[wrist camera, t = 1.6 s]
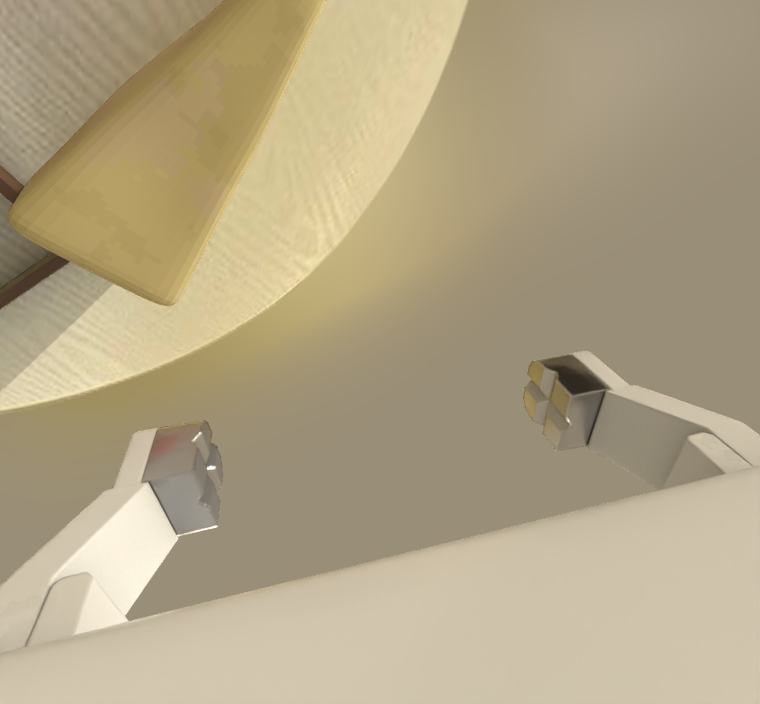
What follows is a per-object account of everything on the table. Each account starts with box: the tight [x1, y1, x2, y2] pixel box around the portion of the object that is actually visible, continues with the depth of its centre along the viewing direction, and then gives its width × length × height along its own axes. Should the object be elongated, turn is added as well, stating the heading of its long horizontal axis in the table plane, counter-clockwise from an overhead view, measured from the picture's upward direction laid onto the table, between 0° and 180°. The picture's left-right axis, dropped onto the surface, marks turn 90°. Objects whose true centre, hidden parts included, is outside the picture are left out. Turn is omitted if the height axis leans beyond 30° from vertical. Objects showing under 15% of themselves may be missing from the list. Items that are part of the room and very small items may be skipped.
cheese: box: [8, 0, 326, 306], centre depth 29 cm, size 22×10×15 cm, turn 133°
